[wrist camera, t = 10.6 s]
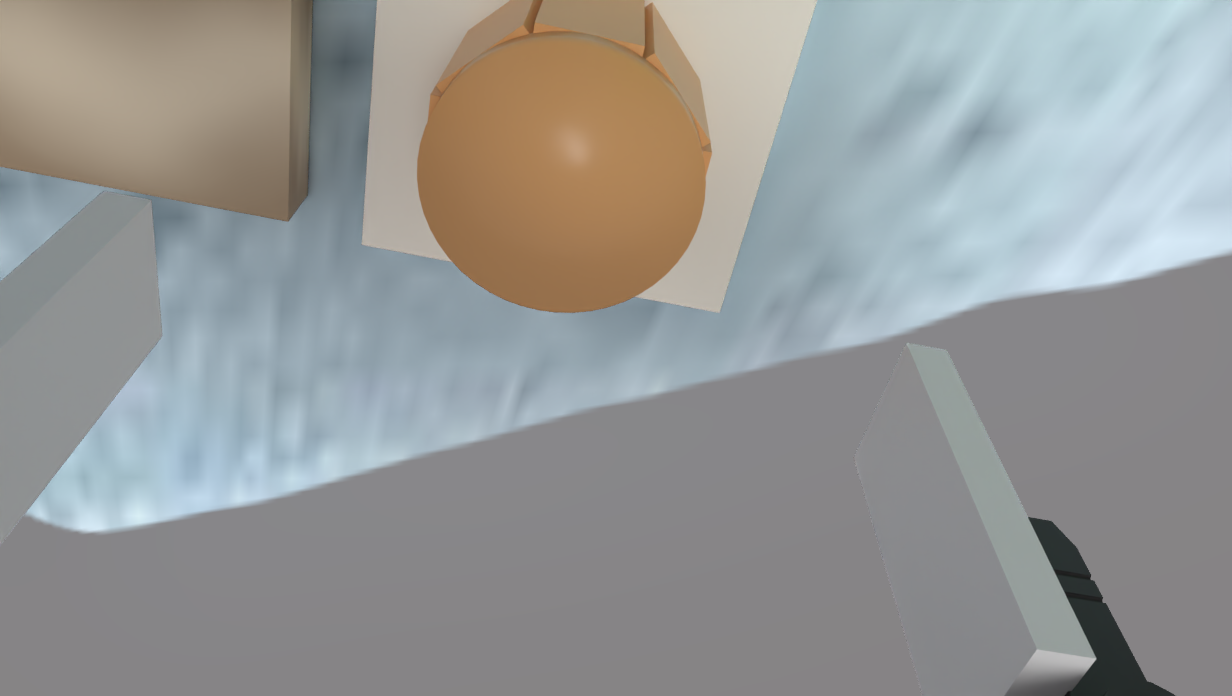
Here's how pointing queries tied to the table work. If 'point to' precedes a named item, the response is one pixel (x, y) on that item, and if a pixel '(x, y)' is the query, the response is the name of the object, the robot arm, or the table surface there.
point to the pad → (732, 92)
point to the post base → (162, 97)
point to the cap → (566, 153)
